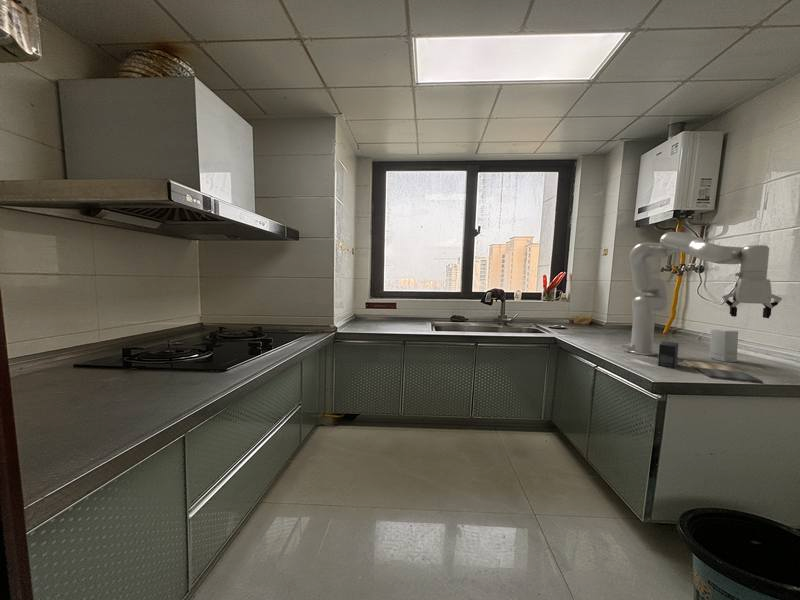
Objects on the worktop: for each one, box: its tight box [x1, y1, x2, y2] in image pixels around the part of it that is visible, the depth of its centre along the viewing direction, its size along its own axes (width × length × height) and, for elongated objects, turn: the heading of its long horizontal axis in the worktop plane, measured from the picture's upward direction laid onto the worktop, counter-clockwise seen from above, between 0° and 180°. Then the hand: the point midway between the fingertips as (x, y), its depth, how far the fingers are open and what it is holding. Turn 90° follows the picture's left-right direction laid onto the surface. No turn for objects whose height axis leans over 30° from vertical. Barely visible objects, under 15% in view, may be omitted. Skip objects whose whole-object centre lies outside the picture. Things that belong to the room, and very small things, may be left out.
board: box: [682, 359, 763, 383], centre depth 141 cm, size 16×26×1 cm, turn 157°
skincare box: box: [709, 328, 739, 363], centre depth 161 cm, size 8×7×16 cm
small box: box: [657, 341, 679, 369], centre depth 151 cm, size 11×6×10 cm, turn 135°
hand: (749, 317), depth 132 cm, fingers open, 9 cm apart
